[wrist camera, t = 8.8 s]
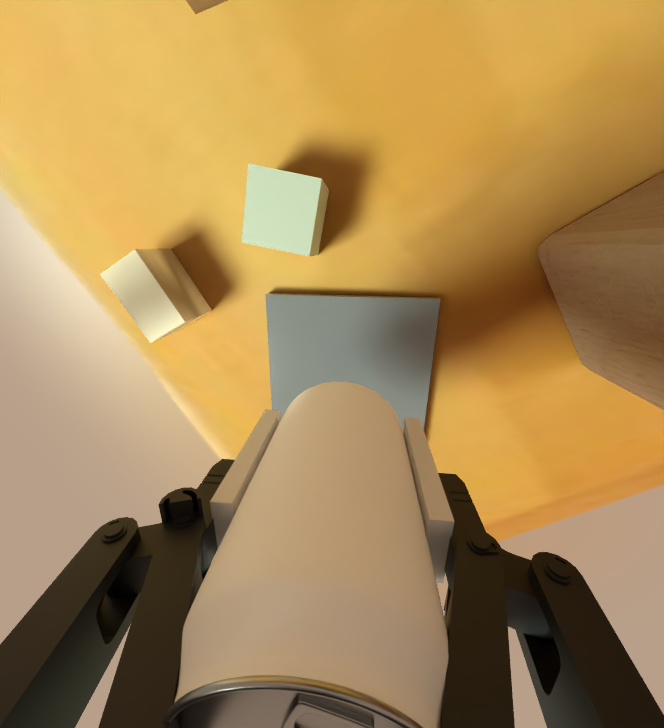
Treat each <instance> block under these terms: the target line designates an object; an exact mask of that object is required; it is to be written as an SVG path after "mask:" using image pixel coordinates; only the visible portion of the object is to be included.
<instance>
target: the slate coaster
mask: <svg viewBox="0 0 664 728" xmlns="http://www.w3.org/2000/svg"><path fill="white" fill-rule="evenodd" d="M440 300H441V299H439V298H431V297H395V296H358V295H321V294H285V293H268V294H266V310H267V328H268V346H269V364H270V382H271V400H272V410H279V411H280V421H281V419H282V417H283V415H284V413H285V411H286V409H287V408H288V406H289V405H290V404H291V402H292V401H293V400H294V399H295V398H296V397H297V396H298V395H300V394H301V393H302V392H304V391H305V390H307V389H309V388H311V387H313V386H316V385H319V384H323V383H328V382H350V383H355V384H359V385H362V386H364V387H367V388H369V389H371V390H373V391H374V392H376V393H378V394H379V395H380V396H382V397H383V398H384V399H385V400H386V401H387V402H388V403H389V404H390V405H391V407H392V408H393V409H394V411H395V413H396V414H397V416H398V419H399V421H400V424H401V427H402V431H403V425H404V418H420V421H421V424H422V427H423V430H424V424H425V416H426V408H427V400H428V393H429V385H430V377H431V370H432V362H433V354H434V346H435V339H436V331H437V323H438V315H439V308H440Z"/></svg>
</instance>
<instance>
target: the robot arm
mask: <svg viewBox="0 0 664 728" xmlns="http://www.w3.org/2000/svg"><path fill="white" fill-rule="evenodd" d="M279 423H280V411H279V410H265V412H264V413H263V415H262V416H261V418H260V420H259V421H258V423H257V425H256V426H255V428H254V430H253V431H252V433H251V435H250V436H249V438H248V440H247V441H246V443H245V445H244V446H243V448H242V449H241V451H240V453H239V454H238V456H237V458H236V459H235V460H229V459H222V460H220V461H219V462H218V463H216V464H215V465H214V466H213V467H212V468H211V470H210V471H209V473H208V474H207V476H206V477H205V478H204V480H203V481H202V483H201V484H200V485H199V487H198V488H197V489H194V488H181V489H177V490H175V491H172V492H170V493H168V494H167V495H166V496H165V497H164V498H162V500H161V501H160V503H159V509H160V514H161V518H162V523H159V524H155V525H150V526H143V527H138V524H137V521H135V520H134V519H133V518H128V517H125V518H118V519H116V520H112V521H110V522H108V523H106V524H105V525H103V526H101V527H100V528H99V529H98V530H97V531H96V532H95V533H94V534H93V535H92V537H91V538H90V539H89V540H88V541H87V542H86V543H85V545H84V546H83V547H82V548H81V549H80V551H79V552H78V553H77V554H76V555H75V557H74V558H73V559H72V560H71V561H70V563H69V564H68V565H67V566H66V567H65V568H64V570H63V571H62V572H61V573H60V574H59V576H58V577H57V578H56V579H55V580H54V581H53V583H52V584H51V585H50V586H49V587H48V589H47V590H46V591H45V592H44V594H43V595H42V596H41V597H40V598H39V599H38V600H37V602H36V603H35V604H34V605H33V606H32V608H31V609H30V610H29V611H28V612H27V614H26V615H25V616H24V617H23V618H22V620H21V621H20V622H19V623H18V624H17V626H16V627H15V628H14V629H13V630H12V631H11V633H10V634H9V635H8V636H7V637H6V639H5V640H4V641H3V642H2V643H1V644H0V728H75V726H76V724H77V723H78V721H79V719H80V717H81V715H82V713H83V711H84V709H85V708H86V706H87V704H88V702H89V700H90V698H91V697H92V695H93V693H94V691H95V689H96V687H97V685H98V684H99V682H100V680H101V678H102V676H103V674H104V672H105V671H106V669H107V667H108V665H109V663H110V661H111V659H112V658H113V656H114V654H115V652H116V650H117V648H118V646H119V645H120V643H121V641H122V639H123V637H124V635H125V634H126V632H127V630H128V628H129V626H130V624H131V626H130V629H129V632H128V636H127V639H126V642H125V645H124V648H123V651H122V655H121V658H120V661H119V664H118V667H117V671H116V674H115V677H114V680H113V683H112V686H111V689H110V693H109V696H108V699H107V703H106V705H105V709H104V712H103V715H102V718H101V721H100V724H99V728H181V723H180V717H179V713H178V714H177V715H176V716H175V717H174V718H173V719H172V720H171V722H170V723H168V724H164V723H163V722H162V719H163V717H164V715H165V713H166V712H167V710H168V709H169V708H170V707H171V706H172V705H173V704H174V701H175V697H176V693H177V687H178V680H179V671H180V661H181V650H182V633H183V627H184V624H185V621H186V618H187V615H188V613H189V611H190V608H191V606H192V604H193V602H194V600H195V597H196V595H197V593H198V591H199V588H200V586H201V584H202V582H203V580H204V578H205V576H206V574H207V571H208V569H209V567H210V565H211V562H212V560H213V557H214V555H215V553H216V551H217V550H218V548H219V546H220V544H221V542H222V540H223V538H224V536H225V534H226V532H227V530H228V527H229V525H230V523H231V521H232V519H233V517H234V515H235V513H236V511H237V509H238V507H239V505H240V503H241V500H242V498H243V496H244V494H245V492H246V490H247V488H248V486H249V484H250V482H251V480H252V478H253V476H254V474H255V472H256V469H257V467H258V465H259V463H260V461H261V459H262V457H263V455H264V453H265V451H266V449H267V447H268V445H269V443H270V441H271V439H272V437H273V435H274V433H275V431H276V429H277V427H278V425H279ZM403 435H404V439H405V443H406V448H407V452H408V457H409V461H410V465H411V470H412V474H413V479H414V483H415V488H416V492H417V497H418V501H419V506H420V510H421V515H422V519H423V524H424V528H425V533H426V537H427V542H428V546H429V551H430V556H431V560H432V565H433V569H434V574H435V578H436V583H443V581H444V576H445V573H446V576H447V581H448V591H447V595H446V601H445V606H444V611H445V616H444V620H445V625H446V630H447V635H448V655H449V658H448V666H447V671H446V679H445V689H444V698H443V707H442V717H441V727H440V728H515V727H514V712H513V699H512V683H511V669H510V654H509V640H508V626H509V627H511V628H513V629H515V630H516V633H517V636H518V639H519V642H520V645H521V648H522V651H523V654H524V657H525V660H526V663H527V667H528V669H529V673H530V676H531V679H532V682H533V685H534V688H535V691H536V694H537V697H538V700H539V704H540V706H541V710H542V713H543V716H544V719H545V722H546V725H547V728H664V715H663V713H662V711H661V710H660V708H659V706H658V705H657V703H656V701H655V700H654V698H653V696H652V694H651V693H650V691H649V689H648V688H647V686H646V684H645V683H644V681H643V679H642V677H641V676H640V674H639V672H638V671H637V669H636V667H635V665H634V664H633V662H632V660H631V659H630V657H629V655H628V654H627V652H626V650H625V648H624V646H623V645H622V643H621V641H620V640H619V638H618V636H617V635H616V633H615V631H614V629H613V628H612V626H611V624H610V623H609V621H608V619H607V617H606V616H605V614H604V612H603V610H602V609H601V607H600V605H599V604H598V602H597V600H596V599H595V597H594V595H593V593H592V592H591V590H590V588H589V587H588V585H587V583H586V581H585V580H584V578H583V576H582V575H581V574H580V572H579V571H578V570H577V569H576V567H574V566H573V565H572V564H571V563H570V562H568V561H567V560H565V559H563V558H561V557H560V556H558V555H555V554H552V553H548V552H539V553H537V554H535V555H533V558H532V560H529V559H526V558H523V557H520V556H517V555H514V554H512V553H509V552H507V551H505V550H503V549H502V548H501V547H500V545H499V544H498V542H497V541H496V540H495V539H494V538H493V537H492V536H490V535H489V534H488V533H486V531H485V529H484V527H483V524H482V522H481V520H480V517H479V515H478V513H477V511H476V508H475V506H474V504H473V503H472V499H471V497H470V495H469V492H468V490H467V488H466V486H465V483H464V482H463V481H462V480H461V479H460V478H459V477H458V476H457V475H456V474H444V473H438V471H437V468H436V465H435V463H434V460H433V457H432V454H431V451H430V448H429V445H428V442H427V439H426V436H425V433H424V430H423V427H422V424H421V421H420V418H404V425H403ZM131 622H132V623H131Z"/></svg>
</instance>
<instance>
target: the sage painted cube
mask: <svg viewBox="0 0 664 728" xmlns="http://www.w3.org/2000/svg"><path fill="white" fill-rule="evenodd" d="M328 195H329V190H328V188H327V186H326V185H325V183H324V181H323V180H322V178H317V177H312V176H307V175H302V174H298V173H293V172H288V171H283V170H278V169H273V168H268V167H263V166H259V165H254V164H248V175H247V187H246V198H245V209H244V221H243V232H242V242H243V243H248V244H252V245H257V246H262V247H267V248H271V249H276V250H281V251H286V252H290V253H295V254H300V255H305V256H315V255H318V253H319V248H320V242H321V236H322V230H323V224H324V218H325V212H326V206H327V201H328Z"/></svg>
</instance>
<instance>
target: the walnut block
mask: <svg viewBox="0 0 664 728" xmlns="http://www.w3.org/2000/svg"><path fill="white" fill-rule="evenodd" d="M186 1H187V2H188V4H189V5H190V7H191V8H192V9H193V11H194V12H195V14H197V13H200V12H202V11H204V10H206V9H209V8H211V7H213V6H216V5H218V4H220V3H223V2H225V1H227V0H186Z"/></svg>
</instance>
